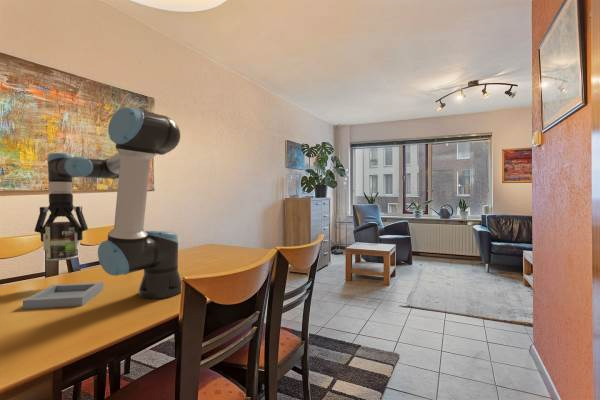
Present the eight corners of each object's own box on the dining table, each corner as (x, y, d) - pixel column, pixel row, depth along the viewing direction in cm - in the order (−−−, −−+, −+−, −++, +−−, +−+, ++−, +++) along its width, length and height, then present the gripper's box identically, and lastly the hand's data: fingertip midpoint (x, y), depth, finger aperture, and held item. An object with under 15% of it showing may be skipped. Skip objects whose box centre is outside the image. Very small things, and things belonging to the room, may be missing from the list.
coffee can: (84, 255, 128) (84, 221, 127) (60, 261, 118) (59, 224, 117) (63, 255, 130) (63, 221, 129) (38, 260, 120) (37, 223, 119)
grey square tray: (103, 289, 120) (103, 282, 120) (82, 305, 104) (82, 297, 104) (53, 292, 117) (52, 284, 117) (22, 309, 100) (22, 300, 100)
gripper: (97, 192, 129) (98, 246, 129) (33, 193, 124) (35, 248, 125) (88, 192, 122) (89, 249, 122) (21, 193, 117) (22, 252, 118)
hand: (62, 249), depth 123 cm, fingers closed on coffee can, 10 cm apart
